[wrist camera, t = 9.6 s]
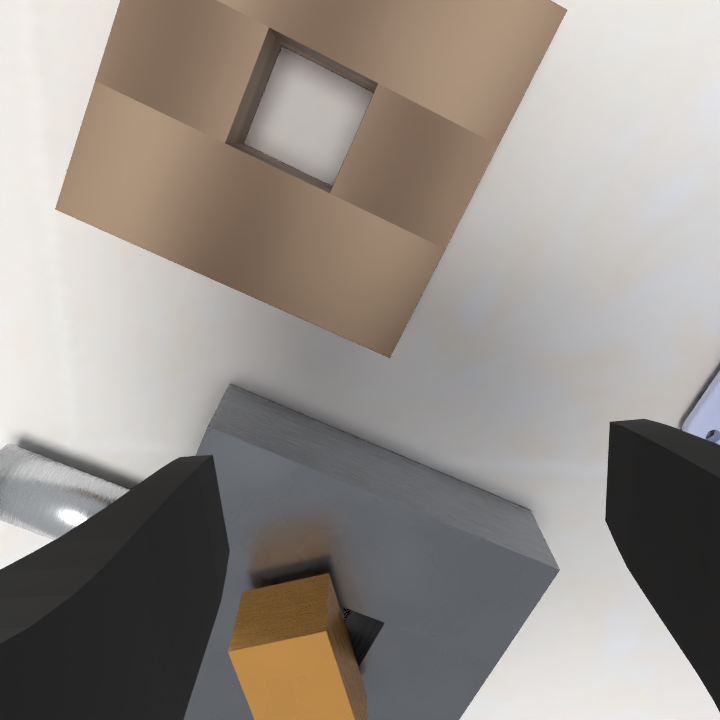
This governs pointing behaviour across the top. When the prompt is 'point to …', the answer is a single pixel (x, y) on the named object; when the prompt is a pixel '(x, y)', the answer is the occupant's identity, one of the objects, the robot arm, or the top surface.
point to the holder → (284, 183)
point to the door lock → (338, 552)
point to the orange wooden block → (296, 653)
